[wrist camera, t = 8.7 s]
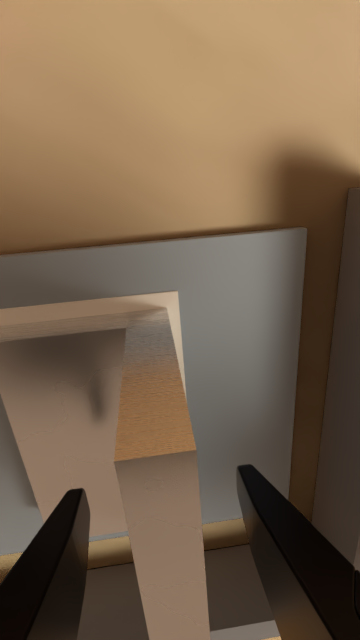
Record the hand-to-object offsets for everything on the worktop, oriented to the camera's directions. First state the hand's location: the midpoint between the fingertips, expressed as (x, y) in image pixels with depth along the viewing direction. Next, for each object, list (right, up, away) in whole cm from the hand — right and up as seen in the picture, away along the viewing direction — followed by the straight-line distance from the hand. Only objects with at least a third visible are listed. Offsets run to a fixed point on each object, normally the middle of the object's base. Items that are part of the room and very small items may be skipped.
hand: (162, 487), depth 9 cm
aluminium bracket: (-2, +1, +3) cm, 3 cm away
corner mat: (-2, +1, +3) cm, 4 cm away
